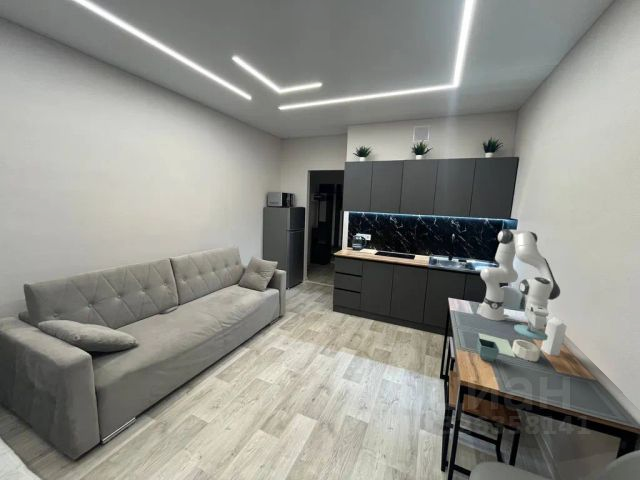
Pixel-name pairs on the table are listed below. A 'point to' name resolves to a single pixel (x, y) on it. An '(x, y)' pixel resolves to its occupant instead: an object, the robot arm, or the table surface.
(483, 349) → the flower pot
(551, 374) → the table surface
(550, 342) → the milk
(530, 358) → the bowl
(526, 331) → the lid
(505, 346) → the mat
